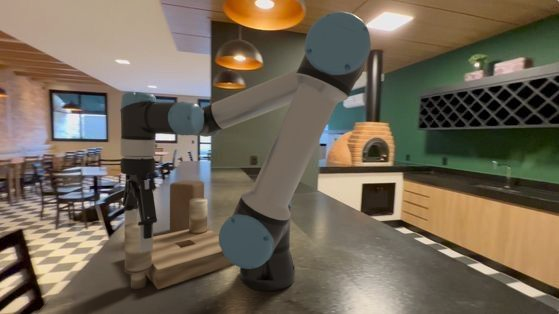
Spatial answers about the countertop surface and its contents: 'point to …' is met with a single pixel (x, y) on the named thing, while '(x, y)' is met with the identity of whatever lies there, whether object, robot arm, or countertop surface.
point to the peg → (136, 257)
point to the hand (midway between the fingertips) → (137, 242)
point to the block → (183, 202)
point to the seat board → (186, 250)
